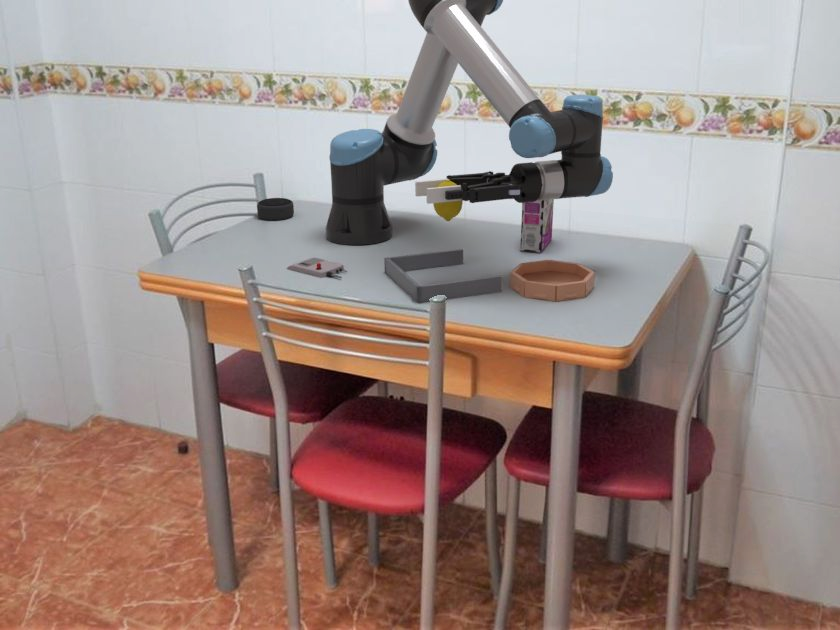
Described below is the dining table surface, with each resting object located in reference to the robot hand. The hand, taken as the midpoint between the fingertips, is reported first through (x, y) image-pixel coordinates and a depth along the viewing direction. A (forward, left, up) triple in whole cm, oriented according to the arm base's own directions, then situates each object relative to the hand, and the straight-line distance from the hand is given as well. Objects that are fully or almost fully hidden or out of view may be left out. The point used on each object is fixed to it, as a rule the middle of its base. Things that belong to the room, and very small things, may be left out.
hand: (421, 192), depth 172 cm
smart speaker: (-64, -15, -19) cm, 68 cm away
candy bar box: (-17, +33, -19) cm, 42 cm away
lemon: (0, +5, -6) cm, 8 cm away
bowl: (+9, +23, -19) cm, 31 cm away
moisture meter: (-18, -16, -19) cm, 31 cm away
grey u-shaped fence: (-2, +5, -19) cm, 19 cm away
